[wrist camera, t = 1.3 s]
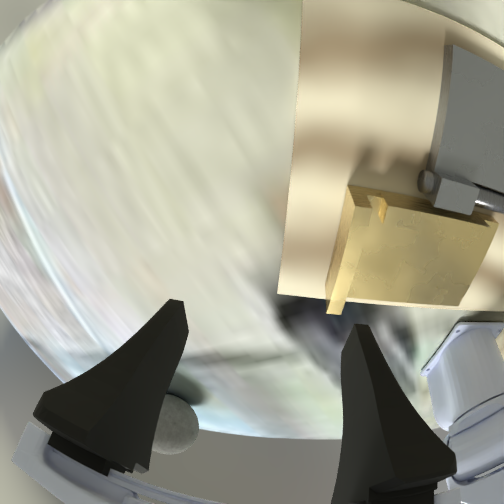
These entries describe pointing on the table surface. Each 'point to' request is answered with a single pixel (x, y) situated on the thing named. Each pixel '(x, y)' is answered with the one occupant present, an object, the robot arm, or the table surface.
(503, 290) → the board
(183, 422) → the decorative ball
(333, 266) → the loose leaf
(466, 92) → the fixed leaf
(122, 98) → the table surface
